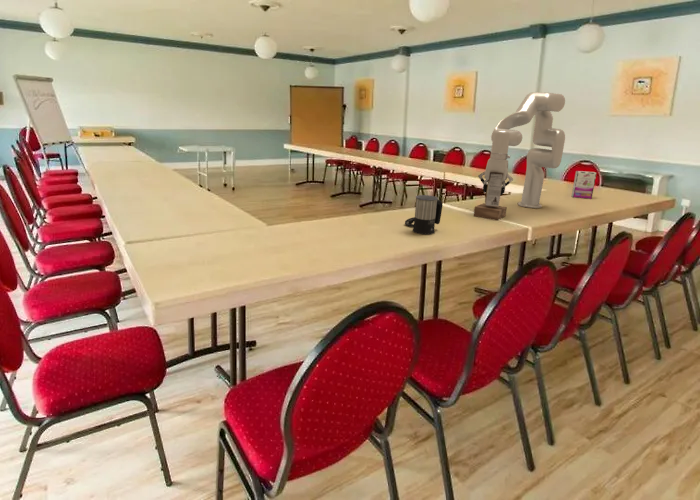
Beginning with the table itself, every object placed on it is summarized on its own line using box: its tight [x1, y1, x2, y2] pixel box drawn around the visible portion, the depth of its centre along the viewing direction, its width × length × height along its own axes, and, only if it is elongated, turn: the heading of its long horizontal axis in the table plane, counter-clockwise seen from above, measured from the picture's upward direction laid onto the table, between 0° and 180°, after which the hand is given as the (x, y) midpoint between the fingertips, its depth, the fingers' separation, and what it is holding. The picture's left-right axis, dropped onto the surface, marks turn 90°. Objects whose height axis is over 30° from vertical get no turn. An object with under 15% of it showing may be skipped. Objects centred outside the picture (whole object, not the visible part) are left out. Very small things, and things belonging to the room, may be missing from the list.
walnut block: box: [473, 202, 508, 221], centre depth 232 cm, size 12×12×5 cm
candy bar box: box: [571, 170, 598, 200], centre depth 296 cm, size 11×5×16 cm, turn 81°
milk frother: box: [404, 194, 443, 235], centre depth 199 cm, size 14×16×15 cm
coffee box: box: [484, 172, 504, 206], centre depth 229 cm, size 9×6×16 cm
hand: (493, 193), depth 230 cm, fingers closed on coffee box, 7 cm apart
